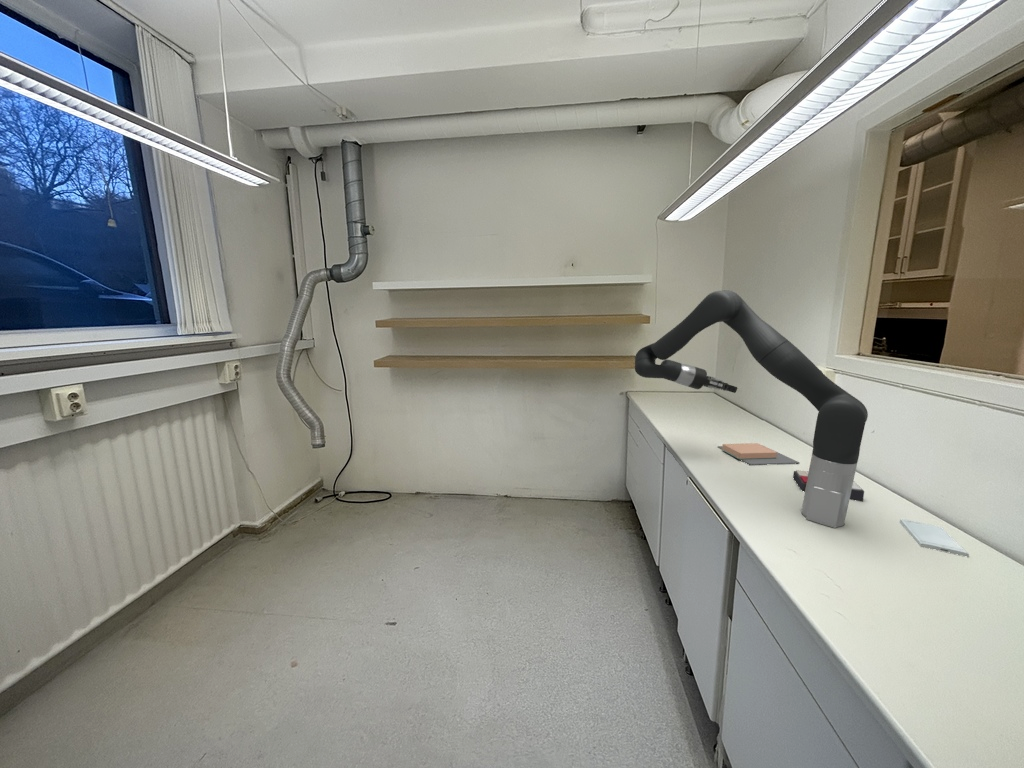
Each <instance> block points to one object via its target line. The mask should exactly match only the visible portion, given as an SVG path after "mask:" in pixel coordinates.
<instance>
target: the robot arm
mask: <svg viewBox="0 0 1024 768" xmlns="http://www.w3.org/2000/svg"><path fill="white" fill-rule="evenodd" d="M721 322H723V323H724V324H725V325H727V326H728V327H729V328H731V329H732V331H734V332H736V333H737V334H738V336H740V338H741V340H742V341H743V343H744V344H745V346H746V348H747V350H748V351H749V353H750V354H751V356H752V358H754V359H755V361H756V362H757V363H758V364H759V365H760V366H761V367H762V368H763V369H764V370H766V371H767V372H768V373H769V374H771V376H773V377H774V378H775V379H777V380H778V381H780V382H782V383H783V384H785V385H786V386H788V387H790V388H791V389H793V390H795V391H796V392H798V393H799V394H801V396H803V397H804V398H805V399H806V400H807V401H808V402H809V403H810V404H811V405H812V406H813V407H814V408H815V409H816V410H817V412H818V413H817V416H816V421H815V428H814V432H813V433H814V434H813V439H812V440H813V441H812V453H811V458H810V463H809V466H808V467H809V468H808V471H809V473H808V478H807V483H806V489H805V492H804V494H803V501H802V506H801V514H802V515H803V516H804V517H805V519H806V520H808V521H811V522H814V523H817V524H821V525H823V526H827V527H830V528H834V529H837V528H838V527H842V526H844V525H845V522H846V519H847V513H848V508H849V503H850V501H851V500H850V495H851V490H852V486H853V481H854V480H855V476H856V473H857V472H856V470H857V466H858V463H859V457H860V453H861V452H860V451H861V446H862V445H861V444H862V440H863V435H864V431H865V425H866V422H867V421H868V417H869V415H868V414H869V413H868V409H867V407H866V405H865V404H863V402H862V401H861V400H859V399H858V398H856V397H855V396H853V395H852V394H850V393H849V392H848V391H847V390H845V389H844V388H842V387H841V386H839V385H838V384H836V383H835V382H834V381H832V379H830V378H829V377H828V376H827V375H825V373H823V372H822V371H821V370H820V369H819V367H818V366H817V365H815V363H814V362H813V361H811V359H810V358H808V357H807V356H806V355H805V354H804V353H803V352H802V351H801V349H799V348H798V347H797V346H795V344H794V343H792V342H791V341H790V340H788V339H787V338H786V337H785V336H783V335H782V334H781V333H780V332H779V331H777V330H776V329H775V328H774V327H773V326H772V325H770V324H769V323H767V322H766V321H765V320H763V319H762V318H761V317H760V316H759V314H757V313H756V312H755V311H754V310H753V309H752V308H751V307H750V306H749V304H747V302H746V301H745V300H744V299H743V298H742V297H741V296H740V295H739V294H738V293H736V292H735V291H733V290H717V291H713V292H711V293H708V294H707V295H706V296H705V297H704V299H702V300H701V301H700V303H698V304H697V306H696V307H695V308H694V309H693V310H692V311H691V312H690V313H689V314H688V315H687V316H686V317H685V318H684V319H683V320H682V321H680V323H678V324H676V326H674V327H673V328H672V329H670V330H669V331H668V332H667V333H666V334H664V335H663V336H661V337H660V338H659V339H658V340H657V341H655V342H653V343H650V344H649V345H645V346H644V347H641V348H640V349H639V350H638V351H637V352H636V353H635V357H634V371H635V373H636V374H637V375H638V376H640V377H642V378H646V379H664V380H667V381H670V382H673V383H676V384H678V385H680V386H685V387H688V388H691V389H693V390H700V389H702V388H703V387H706V388H709V389H714V390H718V391H719V390H721V391H726V392H731V393H733V394H735V393H736V392H737V390H738V387H737V386H735V385H731V384H729V383H727V382H724V381H723V380H720V379H717V378H716V377H714V376H709V375H708V374H707V373H708V372H707V370H705V369H703V368H700V367H697V366H693V365H691V364H688V363H681V362H679V361H675V360H671V359H669V358H671V357H672V356H674V355H675V354H676V353H678V352H679V351H680V350H682V349H683V348H684V347H685V346H686V345H687V344H688V343H689V342H690V341H691V340H693V338H694V337H695V336H697V335H698V334H699V333H700V332H702V331H703V330H705V329H707V328H709V327H710V326H712V325H714V324H716V323H721ZM657 359H659V360H662V362H661V363H660V364H657V363H656V360H657ZM854 482H855V481H854Z"/></svg>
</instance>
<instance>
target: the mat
mask: <svg viewBox="0 0 1024 768" xmlns="http://www.w3.org/2000/svg"><path fill="white" fill-rule="evenodd" d="M761 445H762V446H764V445H763V444H761ZM716 448H718V449H719V450H722V445H720V446H719V445H718V446H717V447H716ZM770 449H771V450H773V451H775V450H774V449H772V448H770ZM722 451H723V450H722ZM775 452H777V456H776V458H775V459H743V460H742V461H741V462H743V463H744V462H745V464H746V463H747V465H748V464H749V465H748V466H768V465H767V464H777V465H796V464H795V463H799V464H800V462H799V461H798V460H795V459H793V458H791V457H789V456H787V455H785V454H782V453H780V452H778V451H775Z"/></svg>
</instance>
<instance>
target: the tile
mask: <svg viewBox="0 0 1024 768" xmlns="http://www.w3.org/2000/svg"><path fill="white" fill-rule="evenodd" d="M762 445H763V444H760V443H758V442H748V443H745V442H744V443H723V444H722V445H721V446H722V451H723V452H725V453H726V454H729V455H730V456H732V457H734V458H735V459H738V460H739V461H741V460H743V459H775V458H776V456H777V452H778V451H776V452H775V450H774V449H772V448H770V447H767V446H765V445H763V446H762ZM771 449H772V450H771ZM773 450H774V451H773Z"/></svg>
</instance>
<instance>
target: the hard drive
mask: <svg viewBox="0 0 1024 768" xmlns="http://www.w3.org/2000/svg"><path fill="white" fill-rule="evenodd" d="M899 524H901V526H902V527H903V528H904V530H906V531H907V533H908V534H909V535H910V537H911V538H912V539H913V540H914V541H915V543H917V545H918V546H919V547H920V548H924V547H925V549H929V548H930V550H933V549H936V550H935V551H938V550H941V551H940V552H942V551H945V552H944V553H947V552H950V553H949V554H951V553H954V554H953V555H956V554H958V555H957V556H960V555H963V556H962V557H965V556H968V557H967V558H969V555H970V553H969V552H967V550H965V548H963V547H962V545H961V544H960V543H959V542H957V540H956V539H954V537H953V536H951V535H950V534H949V532H948V531H947V530H946V529H945V528H943V527H942V526H939V525H935V524H929V523H925V522H918V521H914V520H909V519H904V518H901V519H899Z"/></svg>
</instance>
